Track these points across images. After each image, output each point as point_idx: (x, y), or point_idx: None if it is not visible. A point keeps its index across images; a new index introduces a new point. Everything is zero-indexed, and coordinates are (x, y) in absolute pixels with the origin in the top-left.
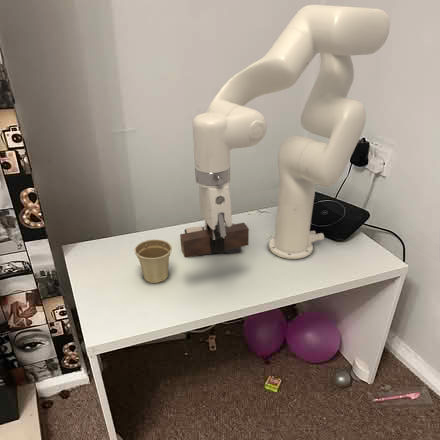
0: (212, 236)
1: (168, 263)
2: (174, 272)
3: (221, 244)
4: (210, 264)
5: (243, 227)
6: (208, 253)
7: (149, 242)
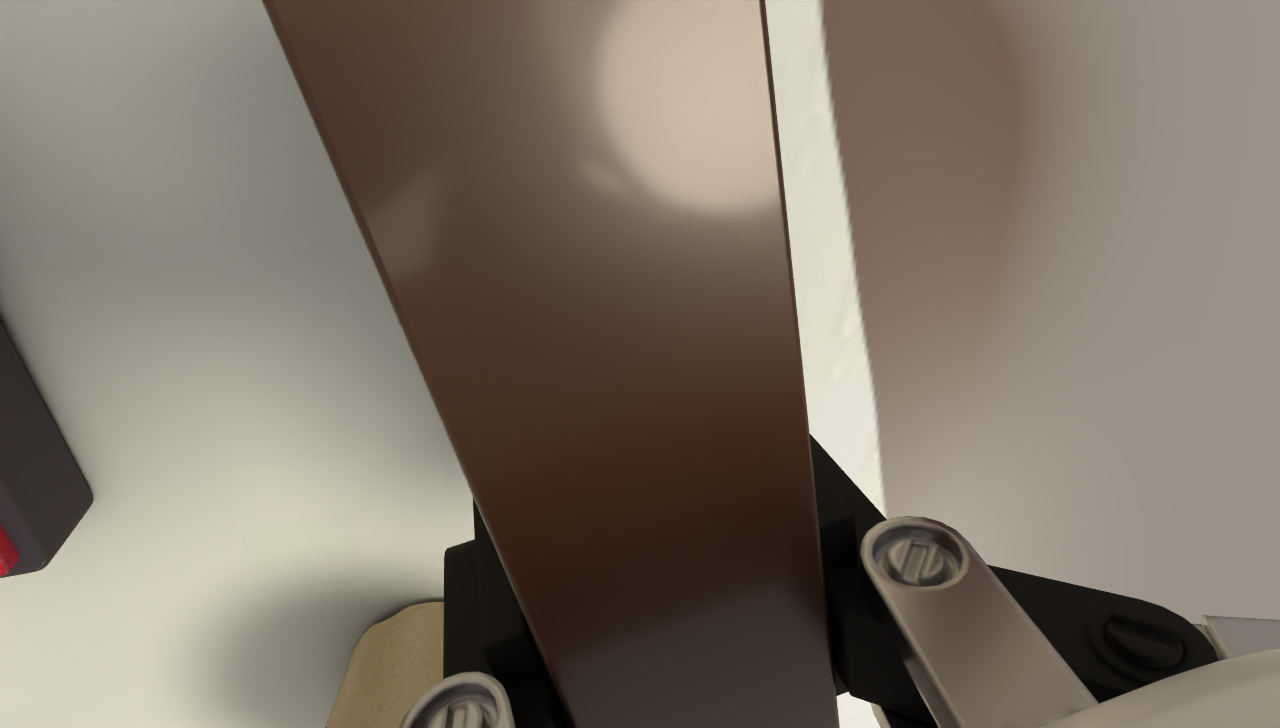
0: (881, 706)
1: (434, 680)
2: (370, 568)
3: (848, 483)
4: (211, 323)
5: (649, 61)
6: (11, 350)
7: None
